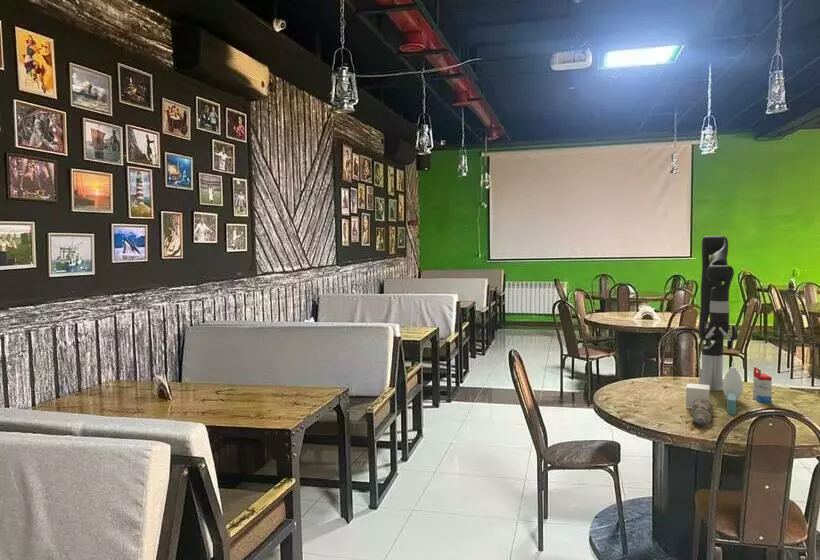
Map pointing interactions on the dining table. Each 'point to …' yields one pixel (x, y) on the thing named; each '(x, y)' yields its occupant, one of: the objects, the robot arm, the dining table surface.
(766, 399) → the ink box
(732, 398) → the teal board
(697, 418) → the decorative bottle
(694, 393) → the cream block
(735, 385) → the sauce bottle
